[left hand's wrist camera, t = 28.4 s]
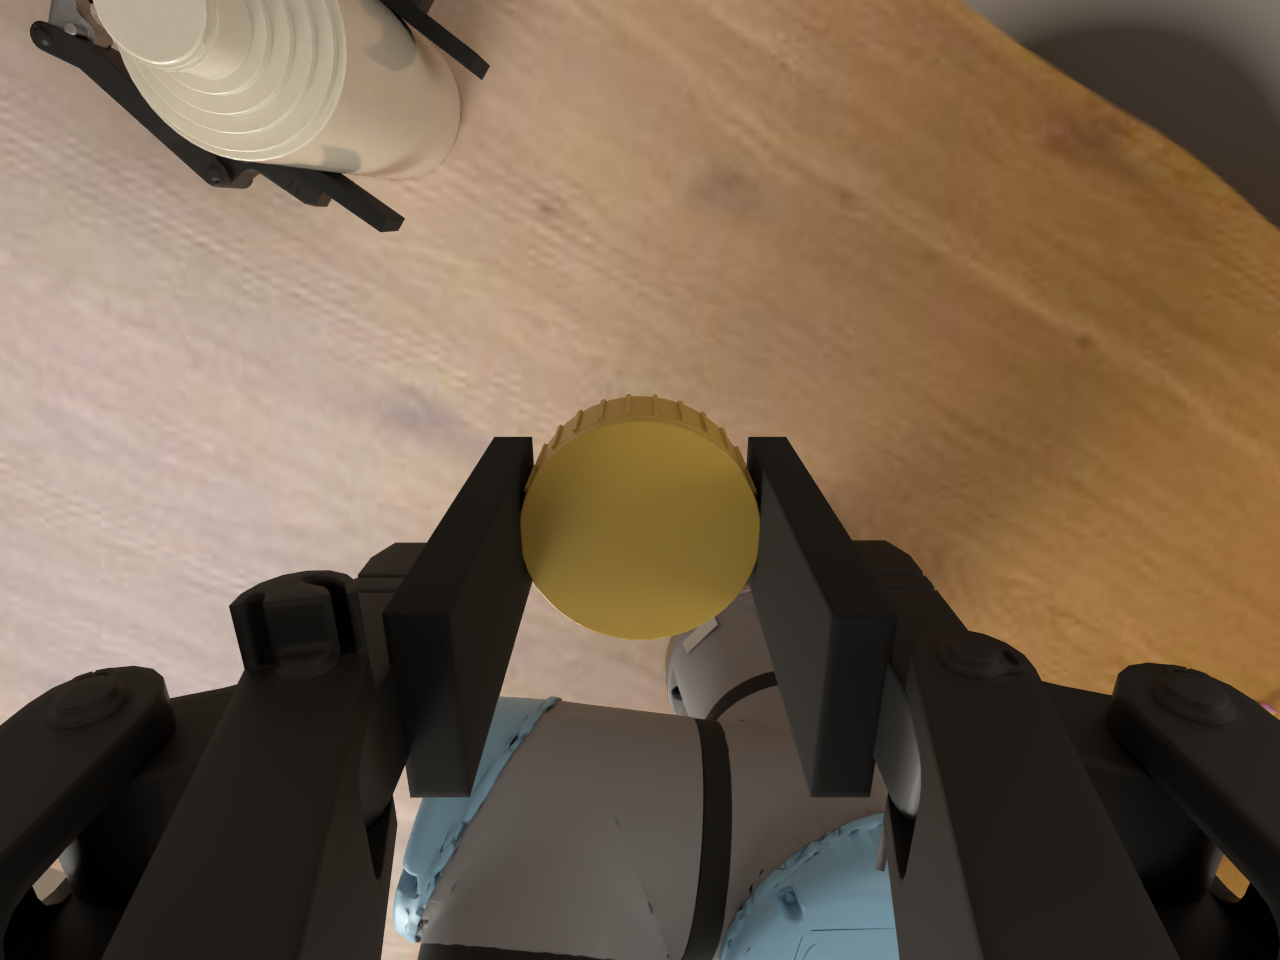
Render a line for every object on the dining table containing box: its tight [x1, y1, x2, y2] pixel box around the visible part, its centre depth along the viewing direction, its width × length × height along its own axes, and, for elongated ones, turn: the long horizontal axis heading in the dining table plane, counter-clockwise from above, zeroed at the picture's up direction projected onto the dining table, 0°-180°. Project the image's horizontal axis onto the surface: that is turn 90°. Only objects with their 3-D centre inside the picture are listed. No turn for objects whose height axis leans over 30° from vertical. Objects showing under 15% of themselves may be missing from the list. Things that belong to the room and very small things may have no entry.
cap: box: [520, 394, 760, 640], centre depth 13 cm, size 4×4×2 cm
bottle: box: [93, 0, 461, 180], centre depth 29 cm, size 8×8×21 cm
